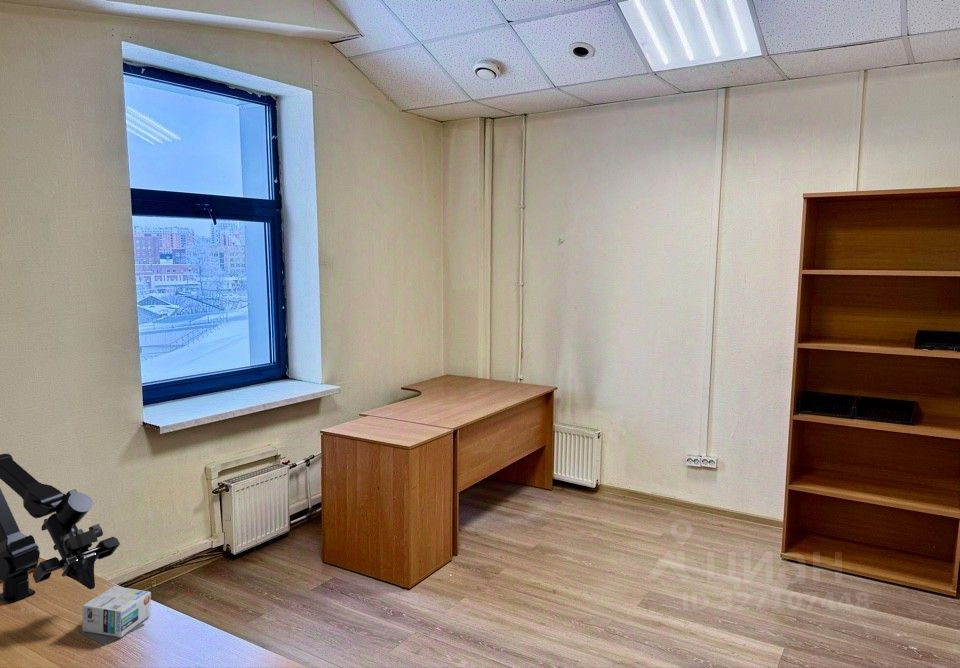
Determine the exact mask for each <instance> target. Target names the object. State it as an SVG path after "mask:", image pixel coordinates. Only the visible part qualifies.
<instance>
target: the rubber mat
mask: <svg viewBox="0 0 960 668" xmlns="http://www.w3.org/2000/svg"><path fill="white" fill-rule="evenodd" d="M142 627H145V624H144V623H142V622H141V623H139V624H138V625H137V626H135V627H134V628H133V629H131V630H130V631H129V632H128V633H126V634H125V635H124V636H126V635H128V634H130V633H133V632H134V631H136V630H138V629H140V628H142ZM79 633H80V634H81V635H84V636H86V637H88V638H90V639H92V640H93V641H95V642H97V643H98V644H99V643H100V644H101V645H103V646H106V645H109V643H112V642H114V641H116V640H118V639H120V638H121V637H115V636H110V635H104V634H98V633H92V632H86V631H83V629H82V630H81V629H80V630H79Z"/></svg>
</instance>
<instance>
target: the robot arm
mask: <svg viewBox="0 0 960 668" xmlns="http://www.w3.org/2000/svg"><path fill="white" fill-rule="evenodd" d="M0 480H1V481H3V482H4V483H5V484H6V486H9V488H10V489H11V490H13V491H14V492H15V493H16V494H17V495H18V496H19V497H20V498H21V499H22V502H23V503H22V505H23V508H24V509H25V511H27V513H28V514H29V515H30V516H31V517H32V518H34V519H40V518H43V517H47V516H49V517H47V518H45V519H44V520H43V524H42V525H41V531H47V532H48V533H49V536H50V537H51V539H52V542H53V543H54V545H53V550H54V551H57V552H58V554H59V555H60V557H61V558H60V559H59V558H58V557H56V556H54V557H51V558H49V559H46V560H43V561H40V562H39V559H40V555H41V552H40V550H39V548H40V547H39V545H38V544H37V542H36V540H35V538H34V536H33V535H31V534H29V535H25V533H22V532H21V530H20V528H19V525H18V523H17V521H16V519H15V517H14V514H13V512H12V511H11V508H10V505H9V504H8V501H7V499H6V498H5V495H4V493H3V491H2V489H1V487H0V581H1V583H2V592H1V593H0V600H1V601H4V602H5V603H8V604H12V603H13V602H16V601H19V600H21V599H24V598H27V597H30V596H31V595H34V594H36V590H35V589H32V588H30V579H29V571H31V570H34V571H33V572H32V578H33V580H34V582H35V584H39V583H40V582H44V581H46V580H49V579H50V577H51V575H52V573H53V572H55V571H57V570H62V571H63V572H62V573H61V577H67V578H69V579H72V580H74V581H76V583H79V584H81V585H82V586H84V587H85V588H87V589H88V590H93V589H94V588H95V587H96V582H95V580H96V579H95V562H96V560H102V559H105V558H107V557H110V556H112V555H113V554H114V553H115V551H116V550H117V549H118V548H119V546H120V545H121V543H120V540H119V539H118V538H117V537H116V536H115V537H114V536H110V537H108V538H105V539H103V540H100V541H99V540H98V539H99V538H101V537H102V536H103V535H104V531H103V528H102V527H101V525H100V523H97V524H94V525H92V526H89V527H88V531H84V530H83V529H82V528H78V526H77V524H78V523H79V522H80V521H81V520H82V519H83V518H84V517H85V516H86V515H87V514H88V513H89V511H91V509H92V508H93V505H94V502H93V499H92V497H91V496H89V495H88V494H86V493H83V492H78V490H77V489H76V488H74V489H71V490H69V491H67V493H63V492H62V491H61V490H59V489H57V488H56V487H54V486H53V485H51V484H45V483H41V482H40V481H38V479H36V478H35V477H34V476H32V474H30V473H29V472H28V471H26V470H25V469H24V468H23V467H22V466H21V465H20V464H18V463H17V462H16V461H15V460H14V458H13V456H12V454H10V453H1V454H0ZM98 541H99V542H98ZM97 542H98V543H97ZM93 543H97V544H96V546H95V547H93V548H91V547H92V546H93ZM90 548H91V549H90Z"/></svg>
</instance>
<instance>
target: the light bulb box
mask: <svg viewBox="0 0 960 668" xmlns="http://www.w3.org/2000/svg"><path fill="white" fill-rule="evenodd" d="M151 599H152V592H151V591H147V590H142V589H141V590H140V589H136V588H128V587H122V586H117V585H114V586H112V587H110V588H109V589H107V590H105V591H104V592H102V593H100V594H99V595H97V596H96V597H94V598H93V599H91V600H89V601H87V602H86V603H85V604H83V605H82V630H83V631H86V632H92V633H98V634H104V635H110V636H115V637H120V638H123V637H125V636H126V635H127V634H126V633H128V632H129V631H130V630H131V629H133V628H134V627H135V626H137V625H138V624H139V623H142V622H143V621H145V620H147V619H148V618H149V617H150V616H151V607H152V606H151ZM125 634H126V635H125ZM128 634H129V633H128Z"/></svg>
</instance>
